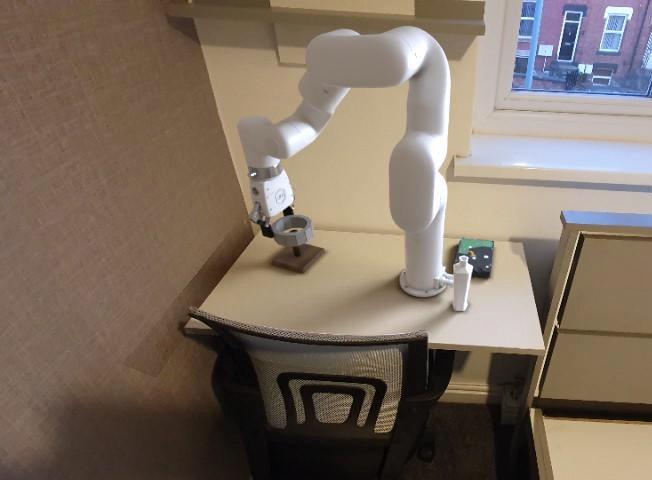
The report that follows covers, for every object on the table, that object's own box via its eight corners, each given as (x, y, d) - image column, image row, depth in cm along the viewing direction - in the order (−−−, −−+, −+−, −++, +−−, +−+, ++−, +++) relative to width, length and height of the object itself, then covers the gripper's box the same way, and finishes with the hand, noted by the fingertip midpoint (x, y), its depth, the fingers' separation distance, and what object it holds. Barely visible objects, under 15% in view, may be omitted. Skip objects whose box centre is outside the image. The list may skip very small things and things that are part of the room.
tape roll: (321, 230, 109) (319, 219, 107) (298, 250, 102) (296, 238, 100) (290, 222, 112) (288, 211, 110) (266, 241, 104) (263, 230, 102)
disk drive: (490, 279, 107) (493, 247, 119) (491, 271, 106) (494, 240, 118) (452, 274, 108) (459, 243, 120) (453, 267, 107) (460, 235, 119)
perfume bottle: (471, 311, 97) (476, 263, 89) (454, 313, 96) (457, 265, 88) (466, 298, 101) (470, 251, 92) (449, 300, 100) (452, 253, 91)
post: (325, 252, 114) (320, 226, 109) (303, 273, 106) (297, 246, 101) (295, 244, 116) (289, 218, 111) (272, 264, 109) (265, 237, 103)
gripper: (252, 187, 89) (269, 249, 99) (300, 158, 103) (310, 215, 113) (225, 180, 91) (244, 242, 101) (276, 153, 105) (288, 210, 115)
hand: (279, 228), depth 107 cm, fingers closed on tape roll, 8 cm apart
